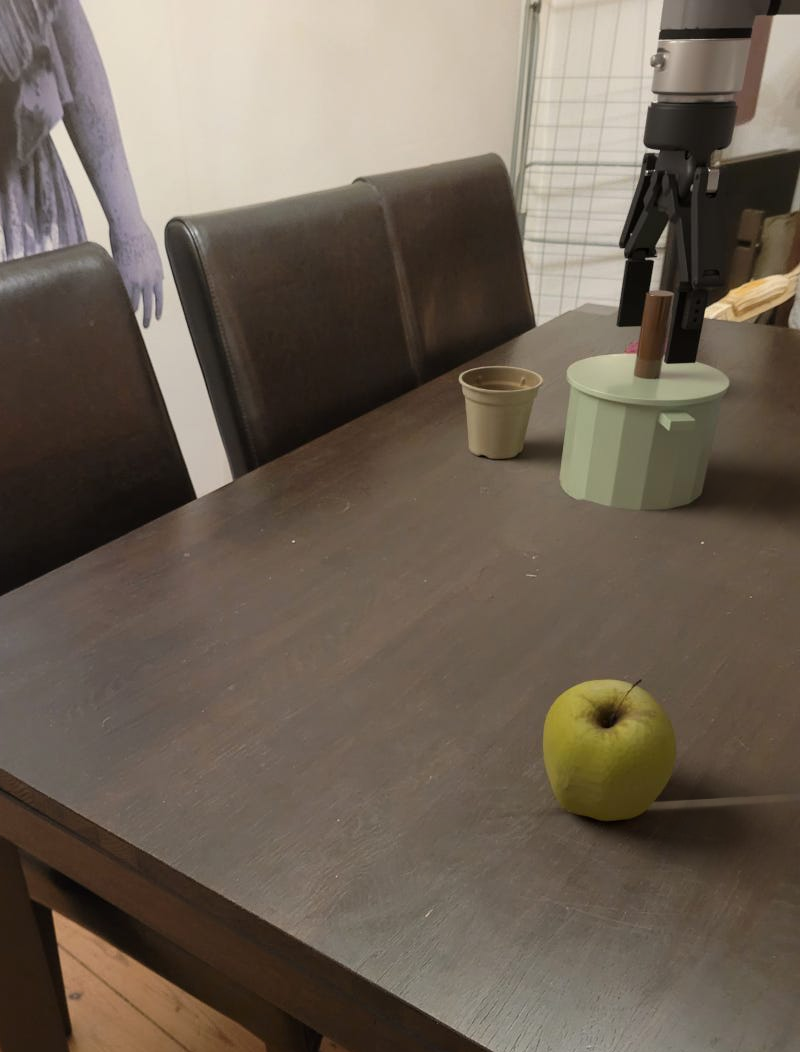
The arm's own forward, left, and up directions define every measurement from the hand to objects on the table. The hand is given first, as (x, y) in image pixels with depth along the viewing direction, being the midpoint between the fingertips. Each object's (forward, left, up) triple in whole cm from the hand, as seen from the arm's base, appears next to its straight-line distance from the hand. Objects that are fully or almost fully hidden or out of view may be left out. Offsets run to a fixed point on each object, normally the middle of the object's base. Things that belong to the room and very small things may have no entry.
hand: (653, 343), depth 95 cm
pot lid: (0, 0, -4) cm, 4 cm away
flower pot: (+12, -12, -15) cm, 23 cm away
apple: (+19, +49, -15) cm, 55 cm away
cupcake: (-14, -32, -15) cm, 38 cm away
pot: (0, 0, -15) cm, 15 cm away
